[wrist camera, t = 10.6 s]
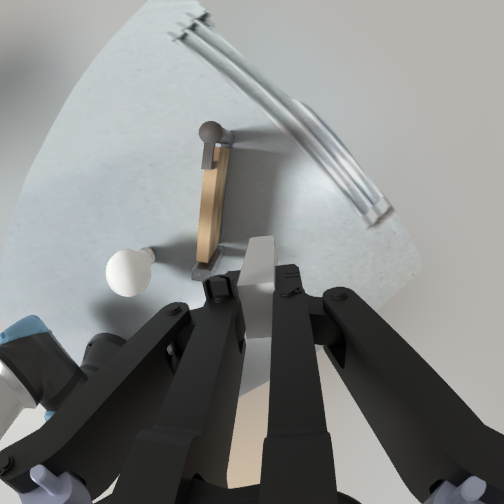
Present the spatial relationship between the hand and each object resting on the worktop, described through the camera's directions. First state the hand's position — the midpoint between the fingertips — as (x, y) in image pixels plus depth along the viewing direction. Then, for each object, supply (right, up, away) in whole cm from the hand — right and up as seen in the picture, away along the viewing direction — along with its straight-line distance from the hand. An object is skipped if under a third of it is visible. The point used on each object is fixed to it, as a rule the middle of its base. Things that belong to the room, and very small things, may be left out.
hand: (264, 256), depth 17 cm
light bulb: (-17, 0, +26) cm, 31 cm away
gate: (-5, +9, +20) cm, 23 cm away
